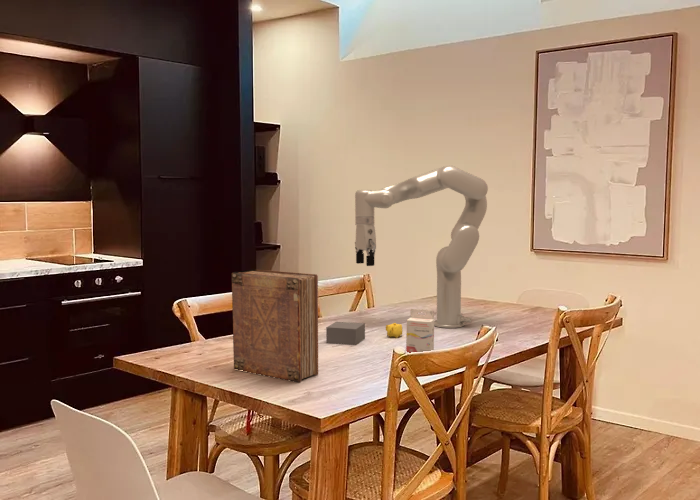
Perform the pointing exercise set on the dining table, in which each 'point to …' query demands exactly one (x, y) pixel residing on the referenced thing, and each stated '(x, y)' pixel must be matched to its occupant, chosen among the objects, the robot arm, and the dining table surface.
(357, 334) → the charcoal base block
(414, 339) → the ink cartridge box
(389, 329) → the yellow rounded lump
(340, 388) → the dining table surface
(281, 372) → the book
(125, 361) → the dining table surface
